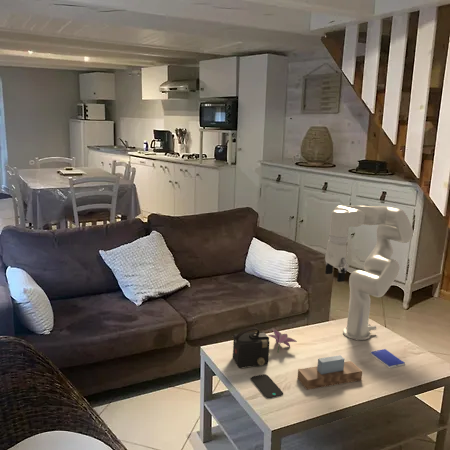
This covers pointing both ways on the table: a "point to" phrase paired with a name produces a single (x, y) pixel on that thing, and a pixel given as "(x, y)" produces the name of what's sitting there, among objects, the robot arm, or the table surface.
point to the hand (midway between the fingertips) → (334, 277)
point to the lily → (282, 338)
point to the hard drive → (387, 358)
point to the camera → (250, 348)
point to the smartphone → (266, 386)
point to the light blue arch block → (330, 364)
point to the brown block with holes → (329, 376)
